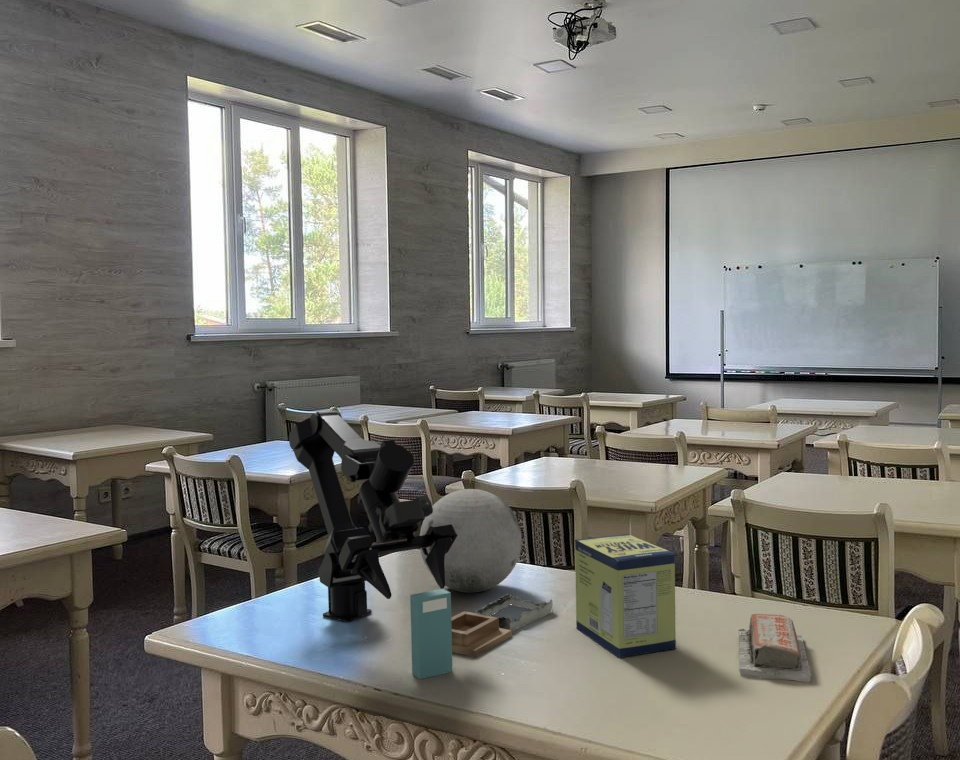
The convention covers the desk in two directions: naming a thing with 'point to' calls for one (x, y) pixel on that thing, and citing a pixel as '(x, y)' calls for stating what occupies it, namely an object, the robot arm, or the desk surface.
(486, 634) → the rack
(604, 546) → the protein box
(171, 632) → the desk surface
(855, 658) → the desk surface
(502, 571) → the moon model
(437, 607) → the teal labeled box
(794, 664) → the packaged product
